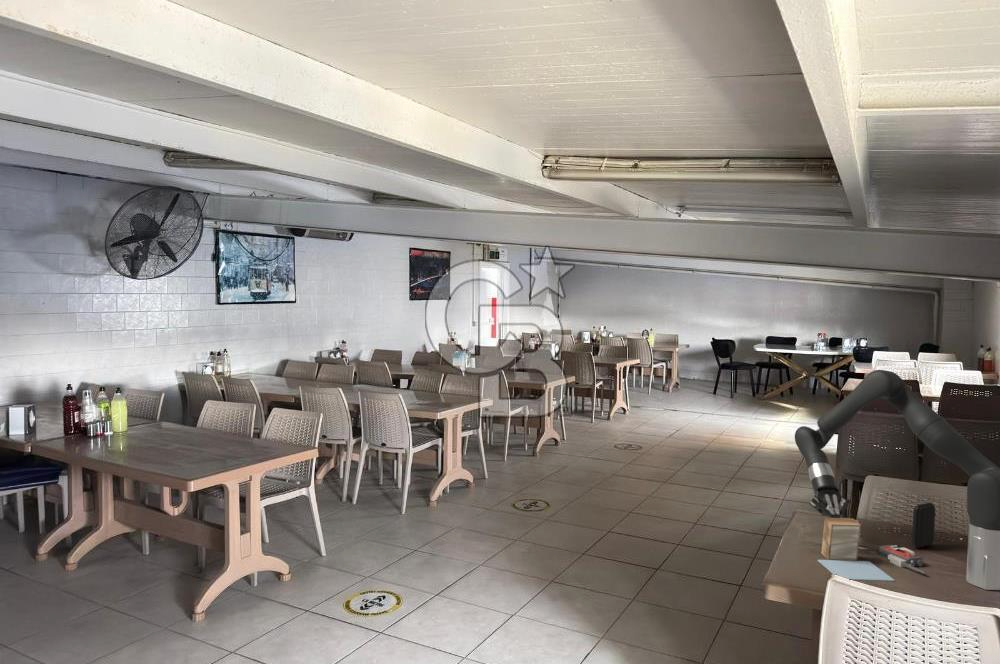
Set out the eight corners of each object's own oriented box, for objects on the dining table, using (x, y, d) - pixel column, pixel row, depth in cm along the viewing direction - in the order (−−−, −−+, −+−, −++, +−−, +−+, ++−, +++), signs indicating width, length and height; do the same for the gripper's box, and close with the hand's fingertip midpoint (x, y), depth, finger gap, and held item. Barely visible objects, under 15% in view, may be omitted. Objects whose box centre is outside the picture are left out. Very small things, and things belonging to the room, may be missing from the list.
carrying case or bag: (928, 543, 240) (930, 500, 239) (937, 545, 237) (939, 502, 237) (909, 547, 235) (911, 504, 234) (918, 550, 232) (920, 506, 232)
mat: (894, 581, 206) (894, 580, 206) (839, 579, 206) (839, 578, 206) (869, 562, 221) (869, 561, 221) (817, 560, 221) (817, 559, 221)
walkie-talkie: (869, 554, 229) (922, 578, 209) (869, 541, 228) (923, 564, 209) (890, 552, 231) (945, 575, 212) (891, 539, 231) (946, 561, 212)
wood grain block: (857, 561, 221) (860, 525, 219) (828, 560, 221) (831, 524, 220) (849, 553, 226) (853, 518, 224) (821, 553, 226) (824, 517, 225)
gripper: (806, 473, 235) (820, 520, 223) (846, 474, 234) (862, 522, 223) (799, 484, 240) (812, 532, 228) (838, 485, 240) (854, 533, 228)
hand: (837, 527), depth 225 cm, fingers closed
